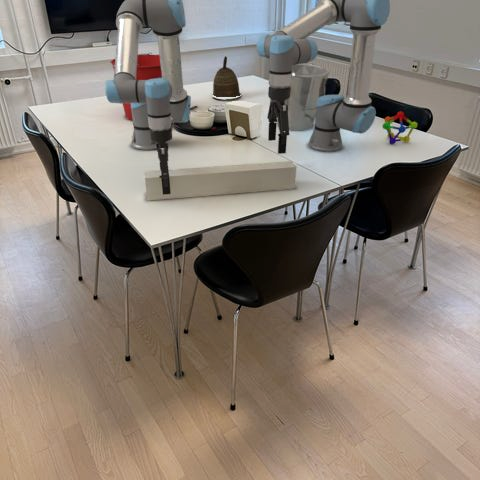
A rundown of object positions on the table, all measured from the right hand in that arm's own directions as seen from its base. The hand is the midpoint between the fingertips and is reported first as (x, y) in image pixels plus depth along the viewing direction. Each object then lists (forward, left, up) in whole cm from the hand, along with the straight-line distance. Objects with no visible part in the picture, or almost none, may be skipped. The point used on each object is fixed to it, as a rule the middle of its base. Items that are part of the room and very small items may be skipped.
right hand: (276, 146), depth 160 cm
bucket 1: (-47, -103, -16) cm, 114 cm away
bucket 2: (-73, -25, -16) cm, 79 cm away
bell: (-103, -87, -16) cm, 136 cm away
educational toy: (-74, +27, -16) cm, 80 cm away
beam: (+14, -15, -16) cm, 26 cm away
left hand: (+28, -30, -12) cm, 43 cm away
